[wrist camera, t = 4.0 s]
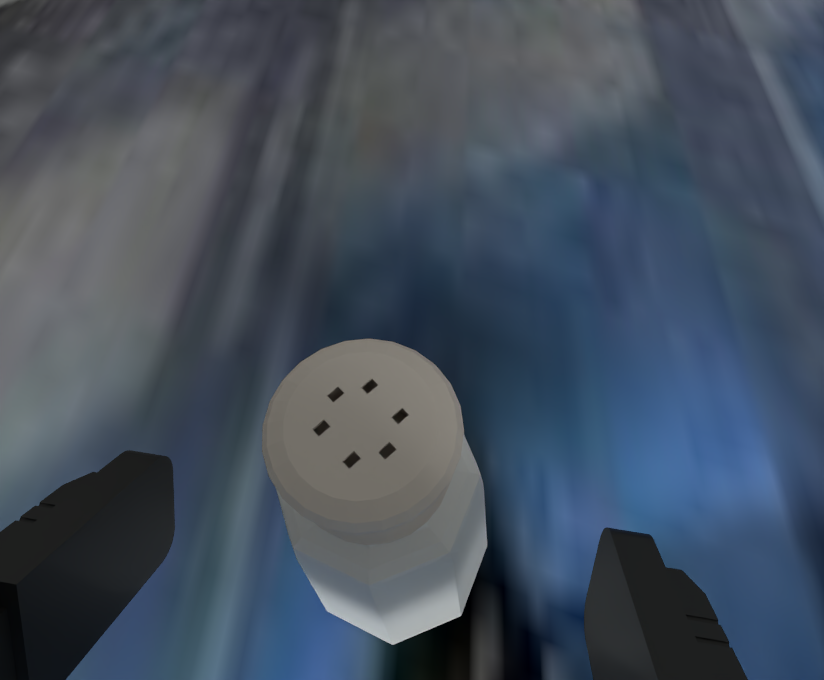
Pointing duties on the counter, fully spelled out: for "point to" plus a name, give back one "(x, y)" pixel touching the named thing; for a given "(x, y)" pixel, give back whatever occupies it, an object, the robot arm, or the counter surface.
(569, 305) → the counter surface
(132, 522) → the robot arm
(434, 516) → the salt shaker
